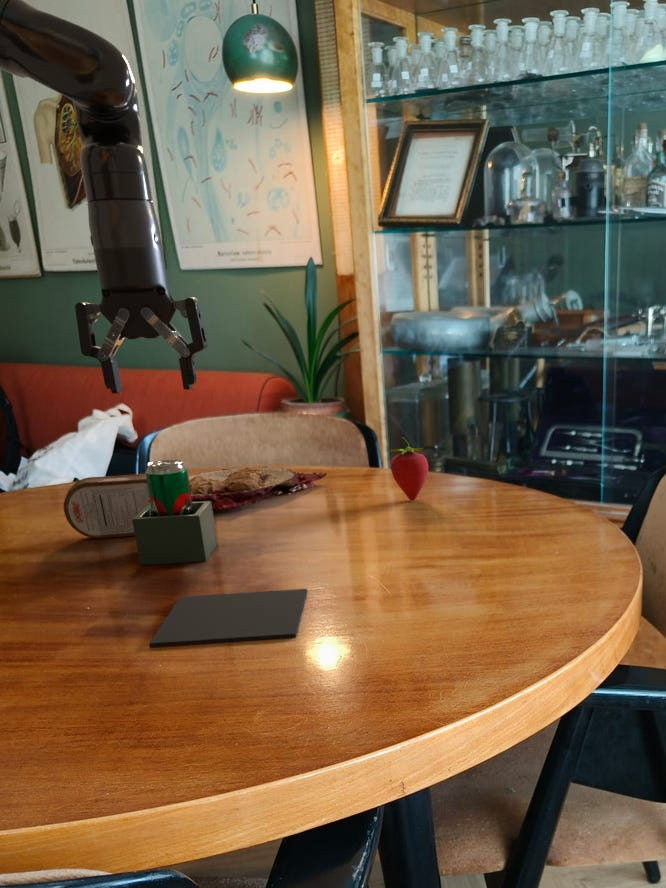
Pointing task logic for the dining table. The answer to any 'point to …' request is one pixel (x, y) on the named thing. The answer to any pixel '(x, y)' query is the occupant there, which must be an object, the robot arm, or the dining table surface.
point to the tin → (106, 505)
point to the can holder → (175, 536)
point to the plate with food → (245, 484)
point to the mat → (232, 618)
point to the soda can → (169, 488)
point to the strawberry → (409, 470)
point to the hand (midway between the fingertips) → (152, 391)
